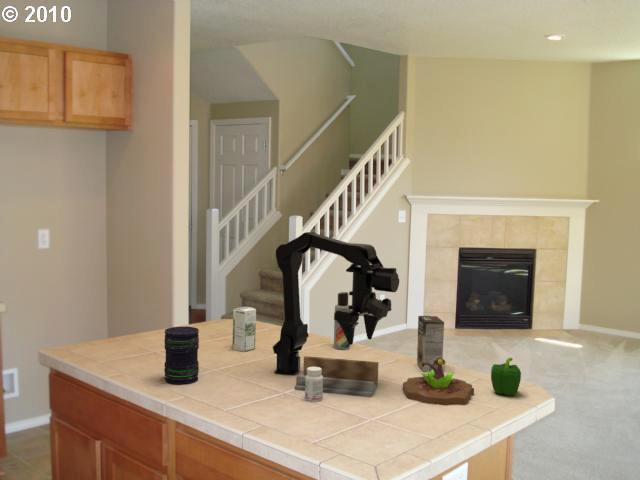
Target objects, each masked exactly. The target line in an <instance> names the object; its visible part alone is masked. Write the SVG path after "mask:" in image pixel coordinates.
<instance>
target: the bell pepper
mask: <svg viewBox="0 0 640 480" xmlns="http://www.w3.org/2000/svg"><path fill="white" fill-rule="evenodd" d="M513 360H514V359H513V358H512V357H509V358H507V359H506V361H505V362H504V363H501V364H496V363H495V364H493V365H492V367H491V371H490V380H491V386H492V389H493V391H494V393H496V394H498V395H506V396H509V397H511V396H516V394H517V393H518V390H519V387H520V384H521V381H522V380H521V379H522V372H521V368H519V367H518V365H517V364H511V365H510V363H511V362H512V361H513Z"/></svg>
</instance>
